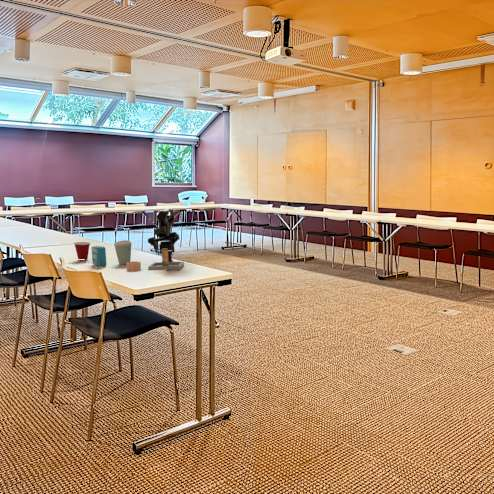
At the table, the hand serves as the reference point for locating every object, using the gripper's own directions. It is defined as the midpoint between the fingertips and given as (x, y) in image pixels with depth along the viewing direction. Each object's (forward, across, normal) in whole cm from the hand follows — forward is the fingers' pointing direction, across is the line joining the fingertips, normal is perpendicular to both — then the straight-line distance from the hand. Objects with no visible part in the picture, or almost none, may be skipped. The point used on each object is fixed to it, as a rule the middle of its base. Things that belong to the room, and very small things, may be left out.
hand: (163, 251), depth 325 cm
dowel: (+11, +2, 0) cm, 11 cm away
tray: (+10, +1, +2) cm, 11 cm away
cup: (+13, -15, -8) cm, 21 cm away
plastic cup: (-18, -70, +17) cm, 74 cm away
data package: (-2, -47, +3) cm, 47 cm away
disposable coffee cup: (-1, -31, +7) cm, 32 cm away
